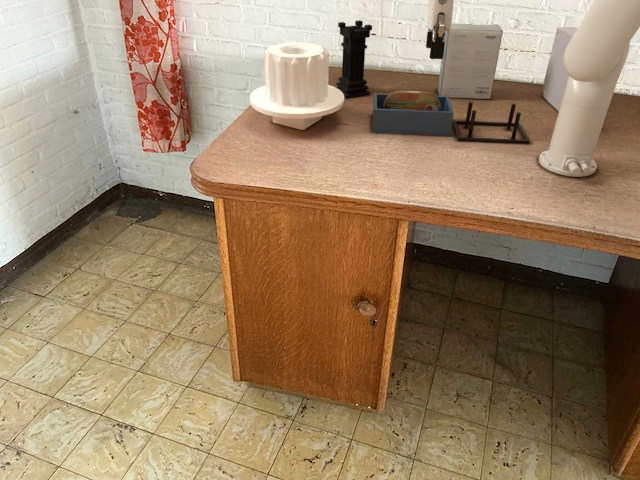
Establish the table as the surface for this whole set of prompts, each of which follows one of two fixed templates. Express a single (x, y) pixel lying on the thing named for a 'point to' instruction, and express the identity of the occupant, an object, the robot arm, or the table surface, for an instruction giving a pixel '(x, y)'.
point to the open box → (412, 119)
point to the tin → (412, 101)
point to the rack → (509, 124)
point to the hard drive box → (469, 60)
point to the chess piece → (353, 59)
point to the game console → (557, 68)
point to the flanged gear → (296, 85)
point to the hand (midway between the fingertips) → (434, 53)
